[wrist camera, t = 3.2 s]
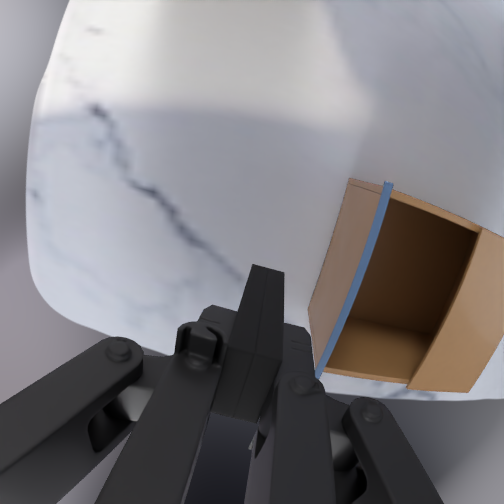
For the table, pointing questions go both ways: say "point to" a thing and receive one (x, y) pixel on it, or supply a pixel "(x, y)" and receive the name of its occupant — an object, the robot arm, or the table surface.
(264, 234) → the table surface
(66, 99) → the table surface
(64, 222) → the table surface
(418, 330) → the carton
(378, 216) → the flap
